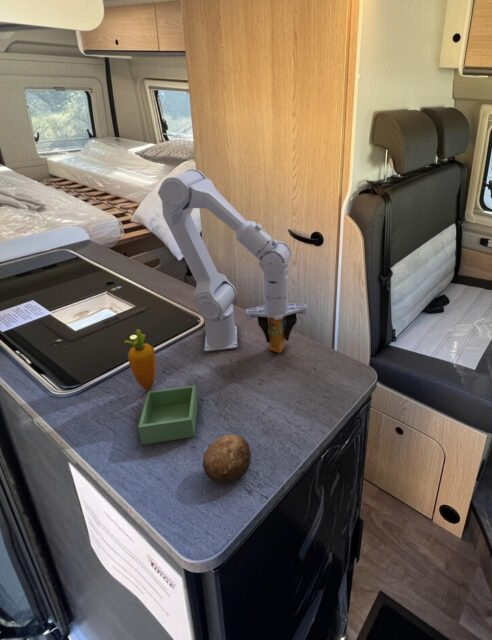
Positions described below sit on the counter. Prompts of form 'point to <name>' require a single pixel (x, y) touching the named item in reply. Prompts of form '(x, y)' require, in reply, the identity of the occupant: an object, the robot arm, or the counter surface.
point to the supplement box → (277, 334)
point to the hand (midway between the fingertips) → (277, 339)
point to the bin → (168, 415)
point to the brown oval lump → (227, 459)
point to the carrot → (142, 361)
